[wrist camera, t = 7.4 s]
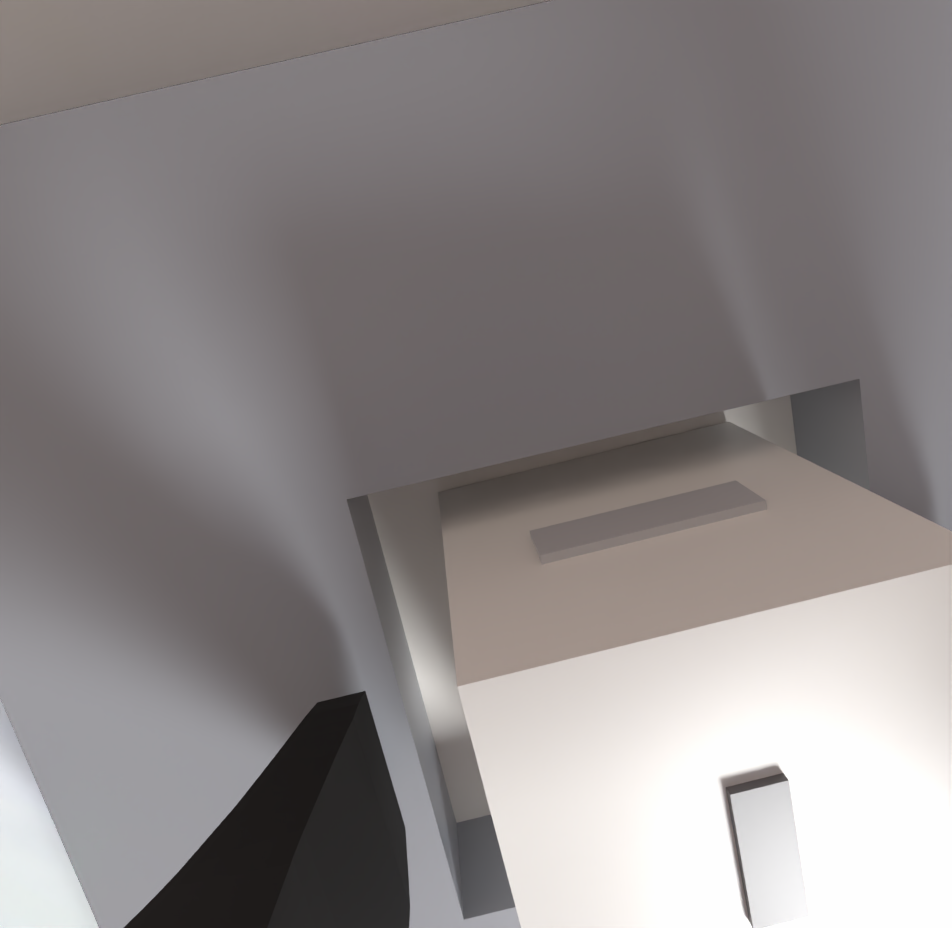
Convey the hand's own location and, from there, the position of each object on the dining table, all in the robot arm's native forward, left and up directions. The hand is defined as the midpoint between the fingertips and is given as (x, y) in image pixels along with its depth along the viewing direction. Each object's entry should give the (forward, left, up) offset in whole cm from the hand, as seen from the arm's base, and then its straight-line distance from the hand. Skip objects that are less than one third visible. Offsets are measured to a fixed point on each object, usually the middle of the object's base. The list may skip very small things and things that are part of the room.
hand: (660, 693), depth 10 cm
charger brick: (0, 0, -2) cm, 3 cm away
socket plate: (0, 0, -3) cm, 3 cm away
